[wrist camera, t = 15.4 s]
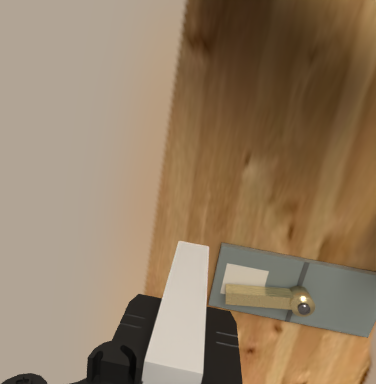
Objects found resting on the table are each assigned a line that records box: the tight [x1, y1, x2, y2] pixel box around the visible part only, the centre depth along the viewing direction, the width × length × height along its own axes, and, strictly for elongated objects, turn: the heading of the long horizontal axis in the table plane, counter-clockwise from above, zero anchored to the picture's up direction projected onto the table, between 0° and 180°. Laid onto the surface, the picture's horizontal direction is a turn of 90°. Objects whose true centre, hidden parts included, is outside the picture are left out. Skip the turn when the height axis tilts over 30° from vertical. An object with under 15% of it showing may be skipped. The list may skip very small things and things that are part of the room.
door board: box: [209, 243, 376, 338], centre depth 45 cm, size 12×28×1 cm, turn 81°
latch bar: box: [225, 284, 315, 317], centre depth 43 cm, size 4×14×4 cm, turn 89°
